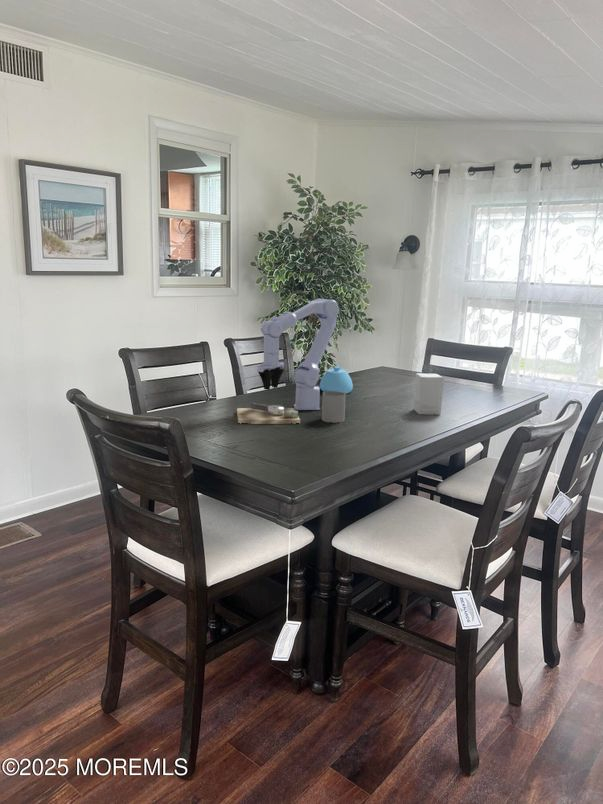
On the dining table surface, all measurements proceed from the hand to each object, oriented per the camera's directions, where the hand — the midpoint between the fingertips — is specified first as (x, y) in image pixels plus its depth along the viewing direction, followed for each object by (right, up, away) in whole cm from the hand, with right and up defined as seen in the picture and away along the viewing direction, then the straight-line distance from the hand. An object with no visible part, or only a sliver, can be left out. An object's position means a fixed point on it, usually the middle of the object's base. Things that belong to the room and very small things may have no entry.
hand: (270, 388), depth 228 cm
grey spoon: (-1, -9, -5) cm, 10 cm away
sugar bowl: (+27, -1, +44) cm, 52 cm away
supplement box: (+62, -10, +9) cm, 63 cm away
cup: (+23, -12, -7) cm, 27 cm away
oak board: (-1, -11, -6) cm, 13 cm away
